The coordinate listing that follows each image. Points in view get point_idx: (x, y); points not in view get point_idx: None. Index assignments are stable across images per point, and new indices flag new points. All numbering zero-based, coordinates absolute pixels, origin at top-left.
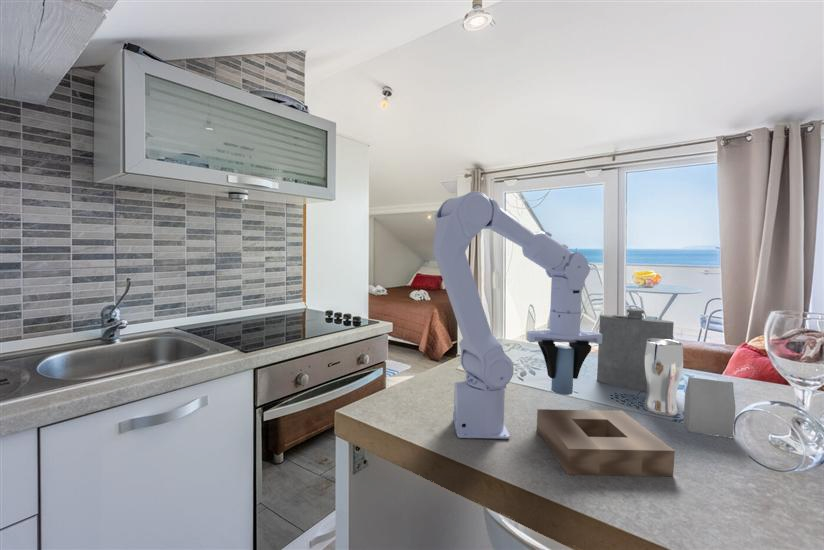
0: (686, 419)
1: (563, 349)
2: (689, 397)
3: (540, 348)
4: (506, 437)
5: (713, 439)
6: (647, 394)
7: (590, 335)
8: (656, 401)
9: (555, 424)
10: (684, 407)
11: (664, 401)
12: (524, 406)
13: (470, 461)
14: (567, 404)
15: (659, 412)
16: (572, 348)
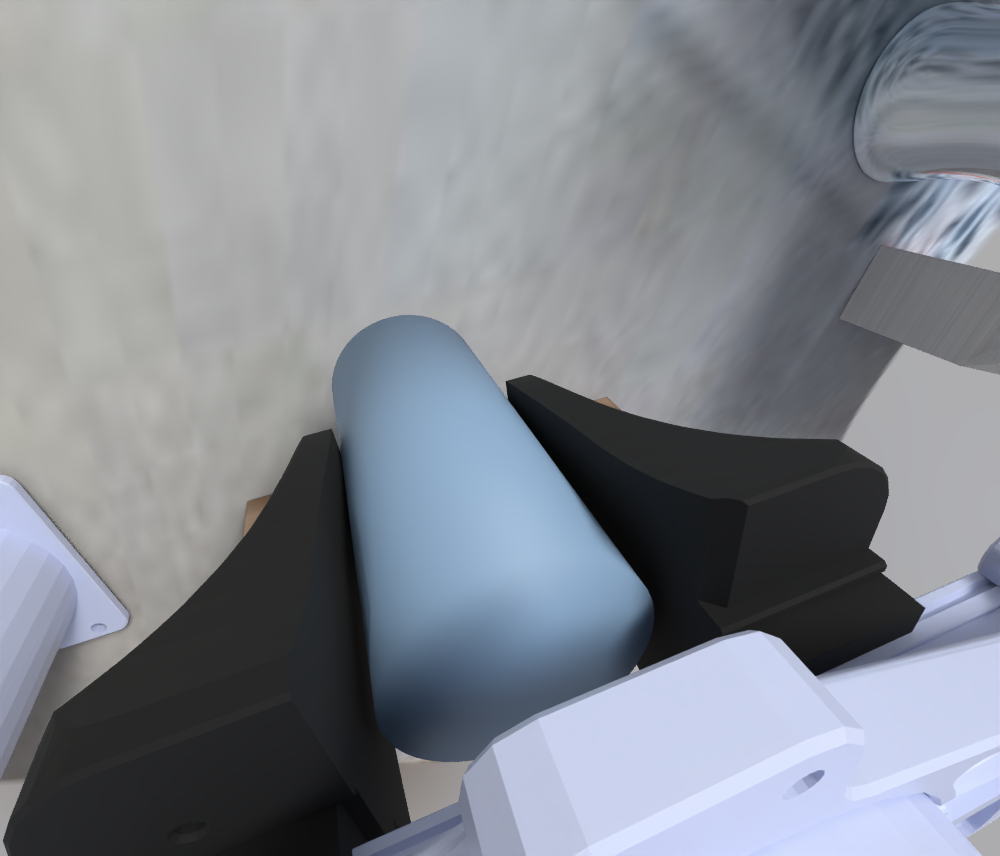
0: (887, 295)
1: (497, 734)
2: (991, 332)
3: (144, 644)
4: (113, 629)
5: (858, 360)
6: (952, 88)
7: (964, 819)
8: (922, 160)
9: None
10: (948, 267)
11: (946, 178)
12: (132, 213)
13: (21, 768)
14: (458, 102)
15: (873, 174)
16: (630, 645)
